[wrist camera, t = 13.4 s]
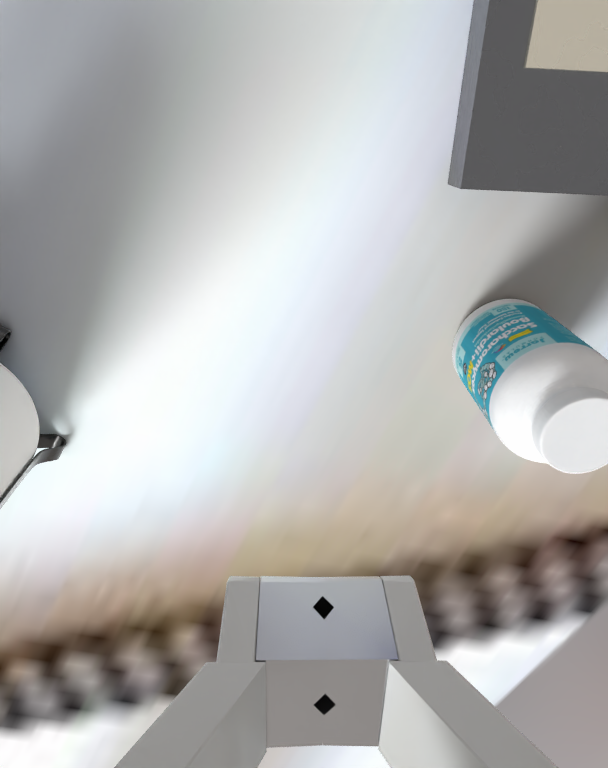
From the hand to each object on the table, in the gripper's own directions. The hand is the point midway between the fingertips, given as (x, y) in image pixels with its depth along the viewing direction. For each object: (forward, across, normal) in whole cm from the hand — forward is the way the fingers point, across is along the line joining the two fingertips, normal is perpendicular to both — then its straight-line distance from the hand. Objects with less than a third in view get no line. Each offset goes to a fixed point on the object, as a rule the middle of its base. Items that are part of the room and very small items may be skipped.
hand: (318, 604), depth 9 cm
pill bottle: (+32, -15, +7) cm, 36 cm away
